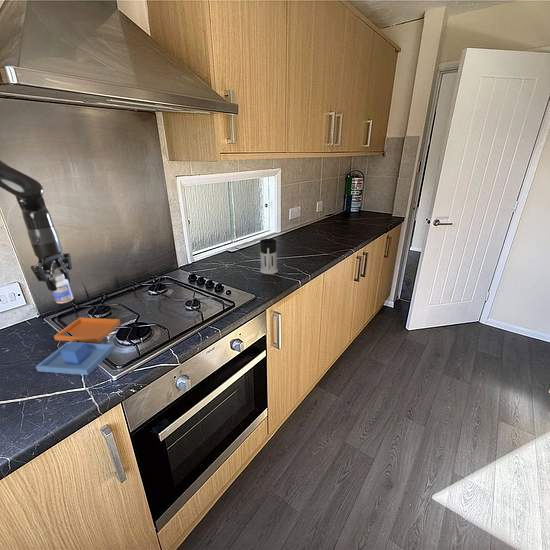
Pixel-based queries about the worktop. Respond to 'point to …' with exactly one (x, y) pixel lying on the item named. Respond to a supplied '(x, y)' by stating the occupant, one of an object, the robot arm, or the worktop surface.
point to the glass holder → (268, 256)
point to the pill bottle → (62, 289)
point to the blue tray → (85, 368)
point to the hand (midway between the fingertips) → (60, 286)
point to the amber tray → (88, 330)
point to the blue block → (75, 353)
